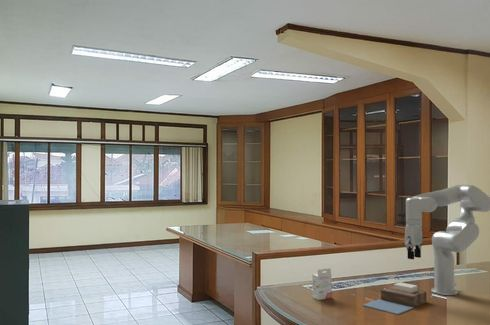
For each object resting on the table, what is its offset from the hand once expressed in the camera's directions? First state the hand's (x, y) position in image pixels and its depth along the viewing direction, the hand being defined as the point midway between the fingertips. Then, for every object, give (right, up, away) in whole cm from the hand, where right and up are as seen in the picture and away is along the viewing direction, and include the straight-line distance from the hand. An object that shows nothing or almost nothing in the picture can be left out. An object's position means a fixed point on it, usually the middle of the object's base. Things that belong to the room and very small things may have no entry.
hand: (414, 257), depth 221 cm
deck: (-8, -19, -8) cm, 22 cm away
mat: (-19, -19, -18) cm, 32 cm away
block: (-7, -14, -6) cm, 17 cm away
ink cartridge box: (-47, -20, -2) cm, 51 cm away
